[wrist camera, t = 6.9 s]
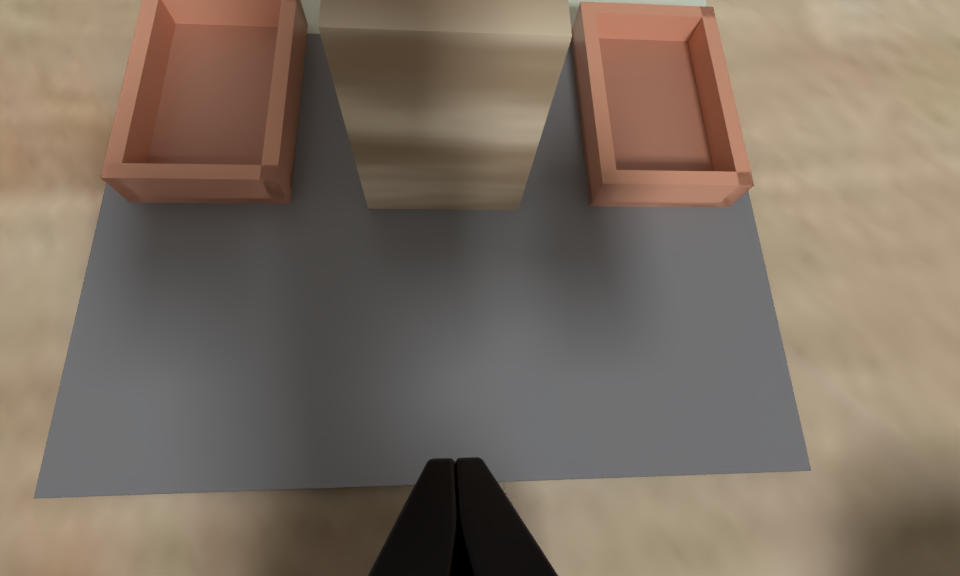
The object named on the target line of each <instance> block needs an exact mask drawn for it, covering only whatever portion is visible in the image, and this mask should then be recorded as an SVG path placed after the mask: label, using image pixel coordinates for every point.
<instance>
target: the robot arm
mask: <svg viewBox="0 0 960 576" xmlns="http://www.w3.org/2000/svg"><path fill="white" fill-rule="evenodd" d="M368 576H558V575H557V573H556V572H555V570H554V569H553V567H552V566H551V564H550V562H549V561H548V559H547V558H546V556H545V555H544V553H543V552H542V550H541V549H540V547H539V545H538V544H537V542H536V541H535V539H534V538H533V536H532V535H531V533H530V532H529V530H528V528H527V527H526V525H525V524H524V522H523V521H522V519H521V518H520V516H519V515H518V513H517V512H516V510H515V508H514V507H513V505H512V504H511V502H510V501H509V499H508V498H507V496H506V495H505V493H504V491H503V490H502V488H501V487H500V485H499V484H498V482H497V481H496V479H495V478H494V476H493V474H492V473H491V471H490V470H489V468H488V467H487V465H486V464H485V462H484V461H483V460H482V459H481V458H479V457H464V458H458V459H456V461H454V459H452V458H433V459H430V460H428V462H427V463H426V465H425V467H424V469H423V470H422V472H421V474H420V476H419V478H418V480H417V482H416V484H415V486H414V488H413V490H412V492H411V494H410V496H409V497H408V499H407V501H406V503H405V505H404V507H403V509H402V511H401V513H400V515H399V517H398V519H397V521H396V523H395V525H394V526H393V528H392V530H391V532H390V534H389V536H388V538H387V540H386V542H385V544H384V546H383V548H382V550H381V552H380V554H379V555H378V557H377V559H376V561H375V563H374V565H373V567H372V569H371V571H370V573H369V575H368Z"/></svg>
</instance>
